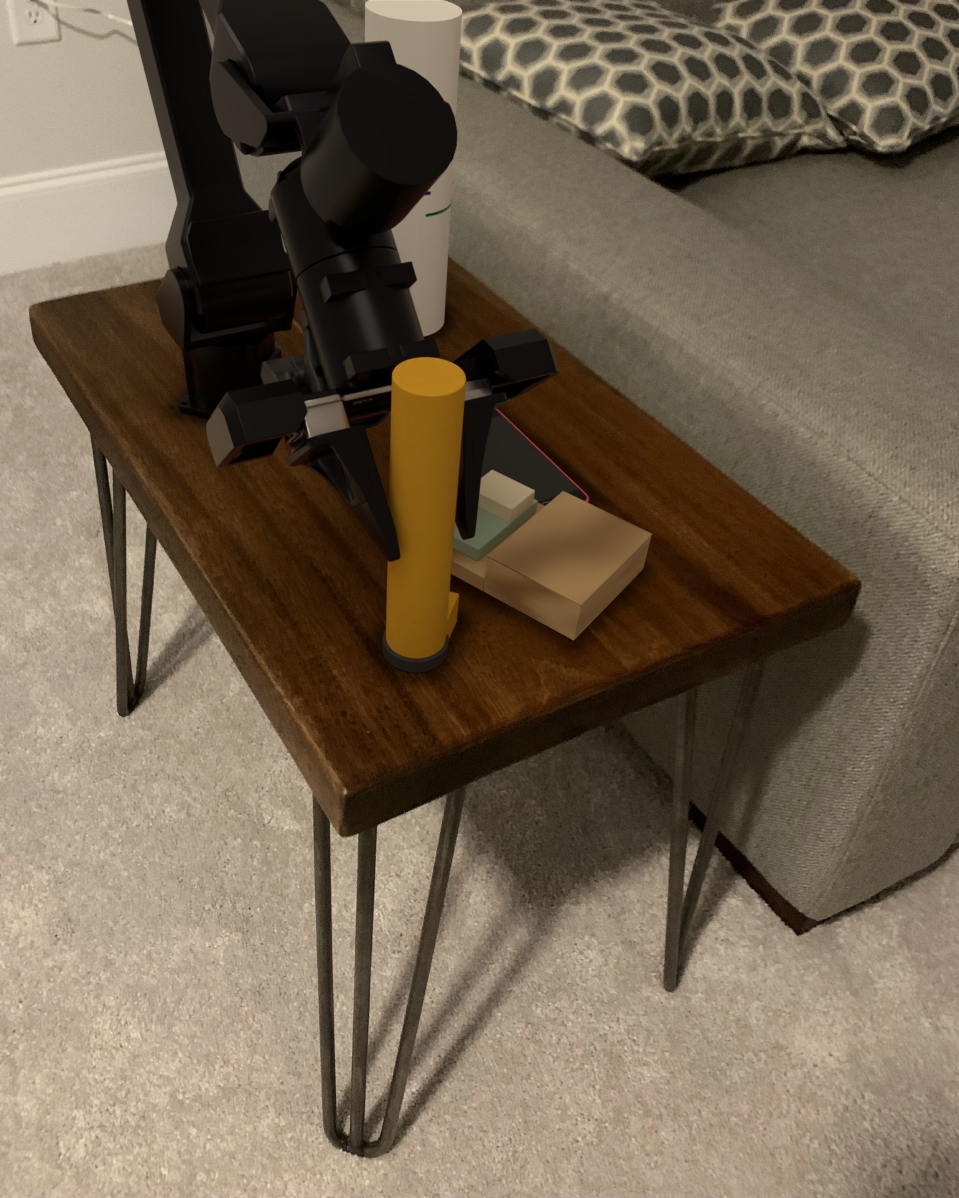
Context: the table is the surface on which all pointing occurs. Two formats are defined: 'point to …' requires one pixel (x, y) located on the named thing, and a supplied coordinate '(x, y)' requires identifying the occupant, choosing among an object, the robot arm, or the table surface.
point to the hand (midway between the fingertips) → (432, 549)
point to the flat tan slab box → (560, 564)
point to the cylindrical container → (432, 48)
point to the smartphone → (525, 462)
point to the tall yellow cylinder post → (423, 511)
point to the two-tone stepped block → (496, 514)
